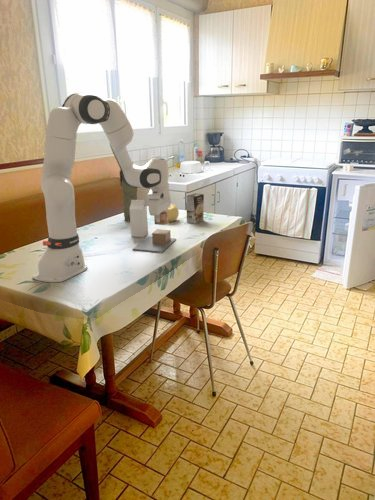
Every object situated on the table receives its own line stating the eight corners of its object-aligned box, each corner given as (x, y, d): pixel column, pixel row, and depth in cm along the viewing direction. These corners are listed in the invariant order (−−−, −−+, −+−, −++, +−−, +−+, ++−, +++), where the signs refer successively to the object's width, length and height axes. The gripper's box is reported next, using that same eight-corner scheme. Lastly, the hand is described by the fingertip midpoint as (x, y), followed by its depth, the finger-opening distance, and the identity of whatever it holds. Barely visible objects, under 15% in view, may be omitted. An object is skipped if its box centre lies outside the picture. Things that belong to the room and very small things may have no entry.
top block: (164, 224, 182) (163, 214, 181) (154, 224, 184) (154, 214, 182) (167, 222, 187) (167, 212, 185) (158, 221, 188) (157, 211, 187)
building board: (162, 253, 175) (161, 241, 173) (132, 250, 179) (131, 238, 177) (176, 240, 193) (175, 229, 191) (148, 237, 197) (148, 227, 195)
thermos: (126, 217, 237) (122, 160, 226) (143, 218, 234) (140, 160, 222) (119, 220, 229) (115, 162, 218) (137, 222, 226) (133, 162, 214)
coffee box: (195, 223, 221) (195, 196, 215) (186, 222, 224) (186, 195, 219) (203, 220, 228) (203, 194, 222) (195, 218, 231) (195, 193, 226)
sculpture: (155, 221, 227) (154, 203, 224) (167, 217, 236) (167, 200, 233) (170, 224, 221) (170, 206, 217) (182, 219, 230) (182, 202, 227)
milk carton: (144, 237, 197) (142, 201, 191) (131, 236, 199) (128, 201, 192) (148, 233, 204) (146, 198, 198) (135, 232, 205) (133, 198, 199)
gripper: (161, 188, 190) (162, 214, 195) (145, 196, 172) (147, 225, 177) (173, 188, 188) (174, 215, 193) (158, 196, 170) (159, 226, 175)
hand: (161, 220), depth 185 cm, fingers closed on top block, 5 cm apart
